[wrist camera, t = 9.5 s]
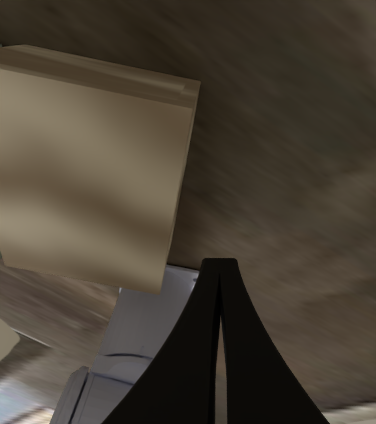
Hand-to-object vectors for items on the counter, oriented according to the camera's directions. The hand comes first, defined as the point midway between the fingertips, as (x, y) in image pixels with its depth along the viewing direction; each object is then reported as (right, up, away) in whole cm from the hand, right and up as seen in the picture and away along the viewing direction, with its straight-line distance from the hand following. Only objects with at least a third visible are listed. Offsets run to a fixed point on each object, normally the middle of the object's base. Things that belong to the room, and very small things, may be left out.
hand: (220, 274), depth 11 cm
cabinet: (-7, +7, +9) cm, 13 cm away
